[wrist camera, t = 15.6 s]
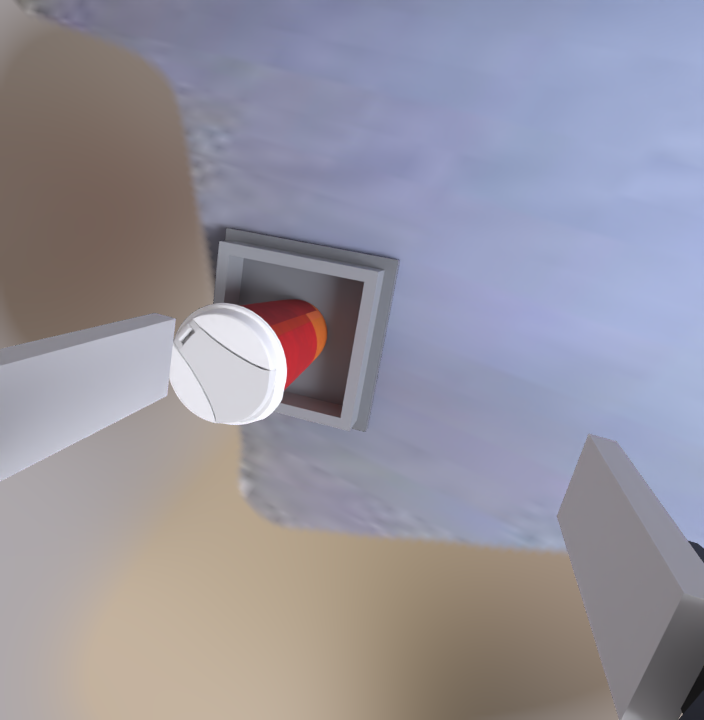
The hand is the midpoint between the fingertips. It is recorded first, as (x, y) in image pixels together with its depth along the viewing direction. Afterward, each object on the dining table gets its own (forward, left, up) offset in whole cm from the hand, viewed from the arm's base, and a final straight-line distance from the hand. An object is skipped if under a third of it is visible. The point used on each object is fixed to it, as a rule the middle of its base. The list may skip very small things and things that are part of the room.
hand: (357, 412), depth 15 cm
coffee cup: (+5, -11, -29) cm, 31 cm away
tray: (+5, -11, -29) cm, 32 cm away
